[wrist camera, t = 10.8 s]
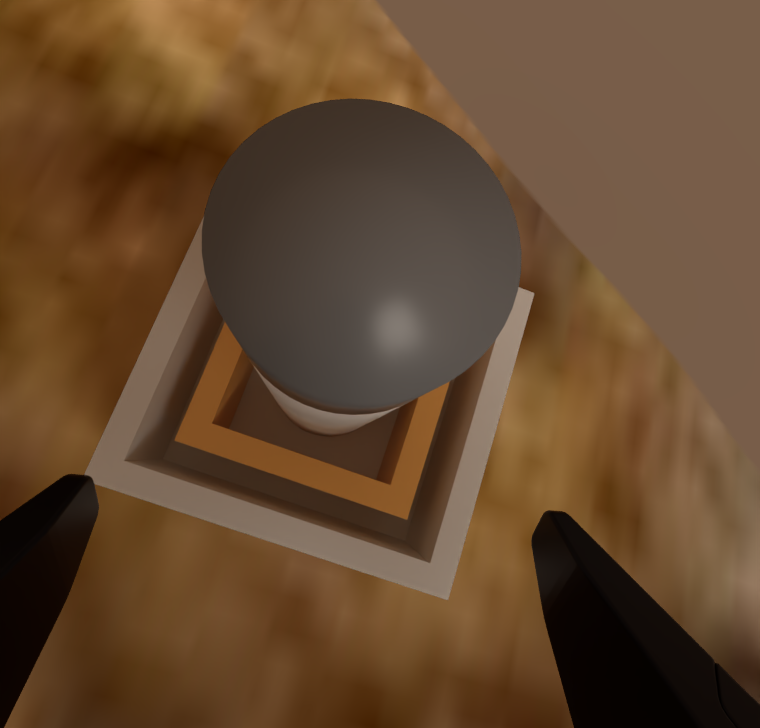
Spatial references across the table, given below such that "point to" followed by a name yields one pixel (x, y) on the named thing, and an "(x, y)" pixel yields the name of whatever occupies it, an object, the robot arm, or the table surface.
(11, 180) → the table surface
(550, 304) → the table surface
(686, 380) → the table surface
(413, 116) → the plug
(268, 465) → the socket box
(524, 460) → the table surface
